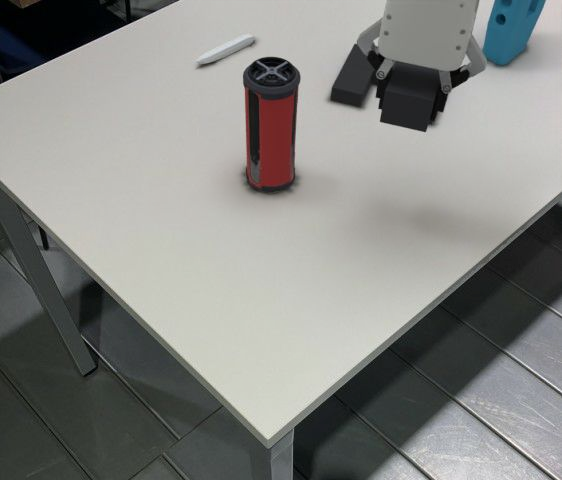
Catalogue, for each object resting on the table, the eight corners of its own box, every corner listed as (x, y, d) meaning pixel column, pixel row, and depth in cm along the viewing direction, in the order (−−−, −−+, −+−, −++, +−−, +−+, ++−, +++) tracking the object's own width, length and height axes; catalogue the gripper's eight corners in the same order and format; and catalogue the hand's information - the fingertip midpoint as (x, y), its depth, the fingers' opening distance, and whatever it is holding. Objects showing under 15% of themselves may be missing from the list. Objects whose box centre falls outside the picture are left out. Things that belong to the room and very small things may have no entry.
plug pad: (435, 104, 81) (443, 72, 77) (425, 132, 78) (434, 100, 74) (390, 94, 82) (396, 62, 78) (379, 122, 79) (385, 90, 75)
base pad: (448, 78, 112) (452, 65, 110) (431, 124, 105) (435, 111, 103) (352, 56, 114) (354, 43, 112) (330, 100, 108) (331, 87, 105)
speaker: (235, 176, 97) (230, 68, 82) (271, 154, 100) (272, 45, 85) (270, 202, 94) (271, 95, 79) (305, 178, 97) (313, 70, 82)
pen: (193, 66, 112) (192, 58, 110) (252, 38, 117) (251, 29, 115) (198, 70, 111) (198, 61, 110) (257, 41, 116) (257, 33, 115)
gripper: (531, -48, 64) (480, 106, 80) (370, -77, 67) (351, 78, 82) (522, -12, 61) (470, 142, 76) (352, -44, 63) (335, 111, 79)
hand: (408, 107), depth 79 cm, fingers closed on plug pad, 6 cm apart
